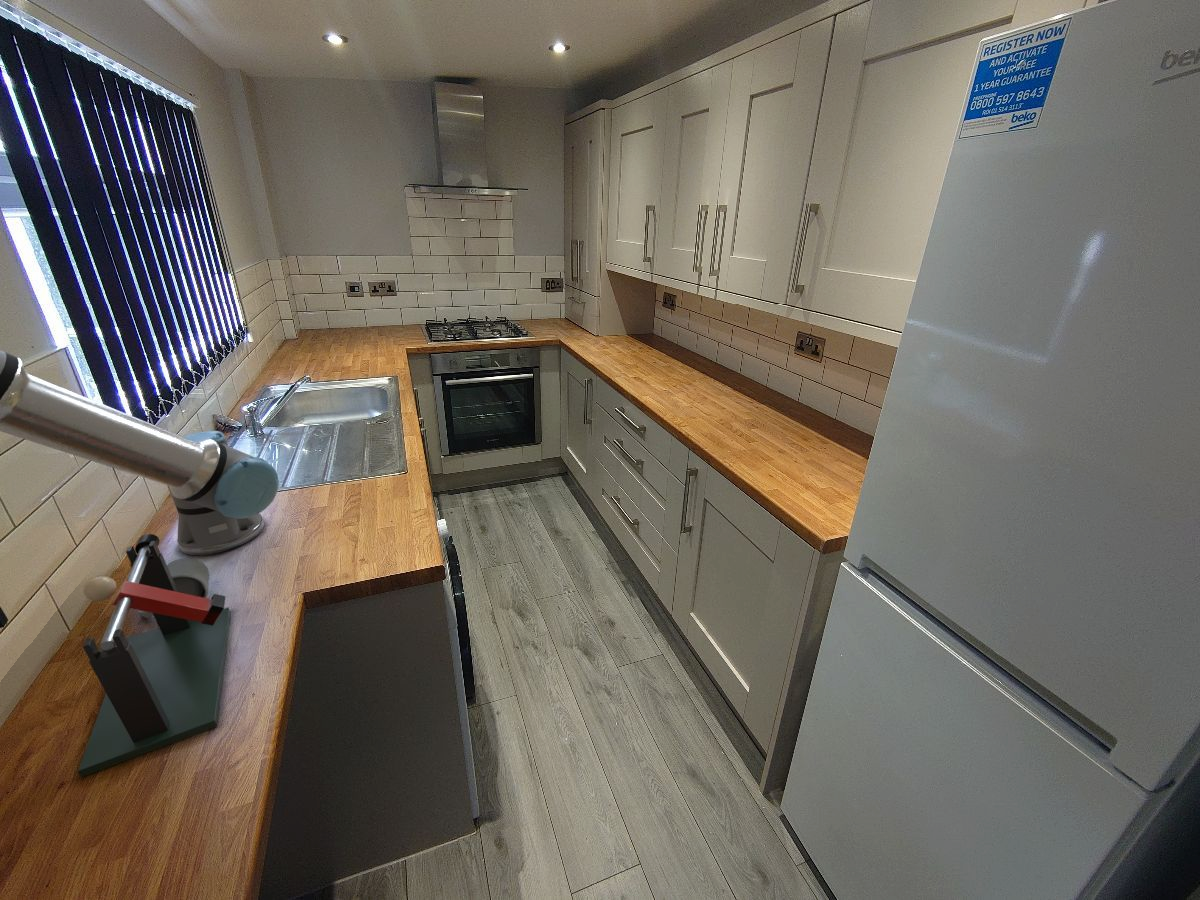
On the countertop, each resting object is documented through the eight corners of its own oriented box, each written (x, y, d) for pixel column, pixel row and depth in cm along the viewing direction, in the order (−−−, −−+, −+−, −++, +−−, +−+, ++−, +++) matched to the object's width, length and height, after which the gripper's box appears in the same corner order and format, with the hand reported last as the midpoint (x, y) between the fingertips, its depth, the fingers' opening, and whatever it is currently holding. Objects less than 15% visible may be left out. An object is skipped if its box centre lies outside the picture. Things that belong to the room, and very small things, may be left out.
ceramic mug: (215, 581, 99) (201, 547, 96) (214, 605, 93) (199, 570, 90) (144, 603, 94) (127, 568, 91) (138, 630, 88) (119, 593, 84)
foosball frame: (128, 642, 85) (84, 553, 78) (230, 612, 91) (197, 527, 84) (81, 777, 64) (14, 672, 57) (217, 726, 70) (172, 626, 63)
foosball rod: (220, 569, 90) (107, 540, 80) (231, 551, 90) (119, 520, 80) (204, 672, 69) (49, 650, 60) (218, 649, 69) (65, 624, 60)
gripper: (-238, 679, 61) (34, 608, 72) (-342, 772, 51) (-7, 673, 62) (-283, 630, 58) (7, 563, 69) (-404, 718, 48) (-40, 623, 59)
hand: (0, 615), depth 65 cm, fingers closed
